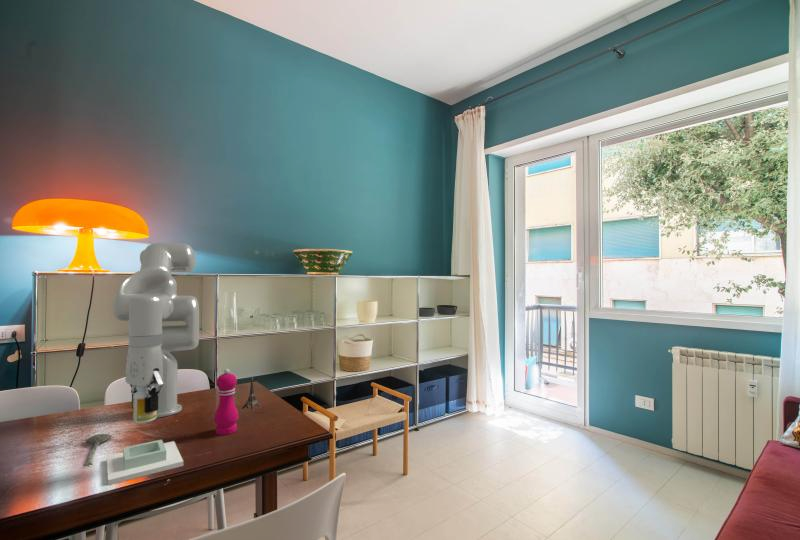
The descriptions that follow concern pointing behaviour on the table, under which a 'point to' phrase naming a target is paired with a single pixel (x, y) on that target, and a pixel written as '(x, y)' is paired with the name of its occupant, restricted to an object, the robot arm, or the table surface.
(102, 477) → the table surface
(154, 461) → the cup holder
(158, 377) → the robot arm
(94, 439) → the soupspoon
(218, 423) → the pepper mill
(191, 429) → the table surface
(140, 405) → the supplement bottle
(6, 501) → the table surface
